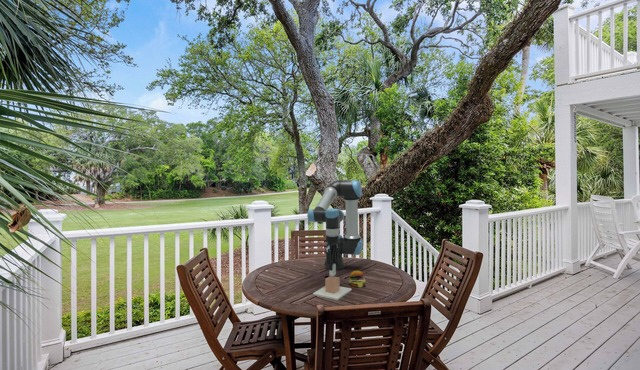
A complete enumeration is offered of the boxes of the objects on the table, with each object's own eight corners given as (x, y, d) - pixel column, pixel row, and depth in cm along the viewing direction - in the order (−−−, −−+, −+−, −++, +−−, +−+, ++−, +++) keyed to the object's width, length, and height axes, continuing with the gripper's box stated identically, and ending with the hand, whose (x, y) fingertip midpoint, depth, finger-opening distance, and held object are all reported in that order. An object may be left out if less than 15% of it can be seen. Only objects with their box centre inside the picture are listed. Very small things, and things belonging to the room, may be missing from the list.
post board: (328, 285, 213) (328, 274, 212) (351, 290, 205) (351, 278, 204) (312, 294, 197) (312, 283, 197) (337, 300, 189) (337, 287, 189)
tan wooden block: (330, 288, 205) (330, 275, 205) (339, 290, 202) (339, 277, 202) (325, 291, 200) (325, 278, 199) (334, 293, 197) (334, 280, 196)
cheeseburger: (353, 288, 207) (351, 271, 209) (347, 287, 217) (345, 271, 219) (368, 286, 210) (366, 270, 211) (362, 285, 220) (360, 269, 221)
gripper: (332, 232, 207) (332, 271, 209) (320, 236, 195) (320, 277, 196) (343, 233, 204) (343, 272, 205) (331, 238, 191) (332, 279, 192)
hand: (332, 275), depth 200 cm, fingers closed
